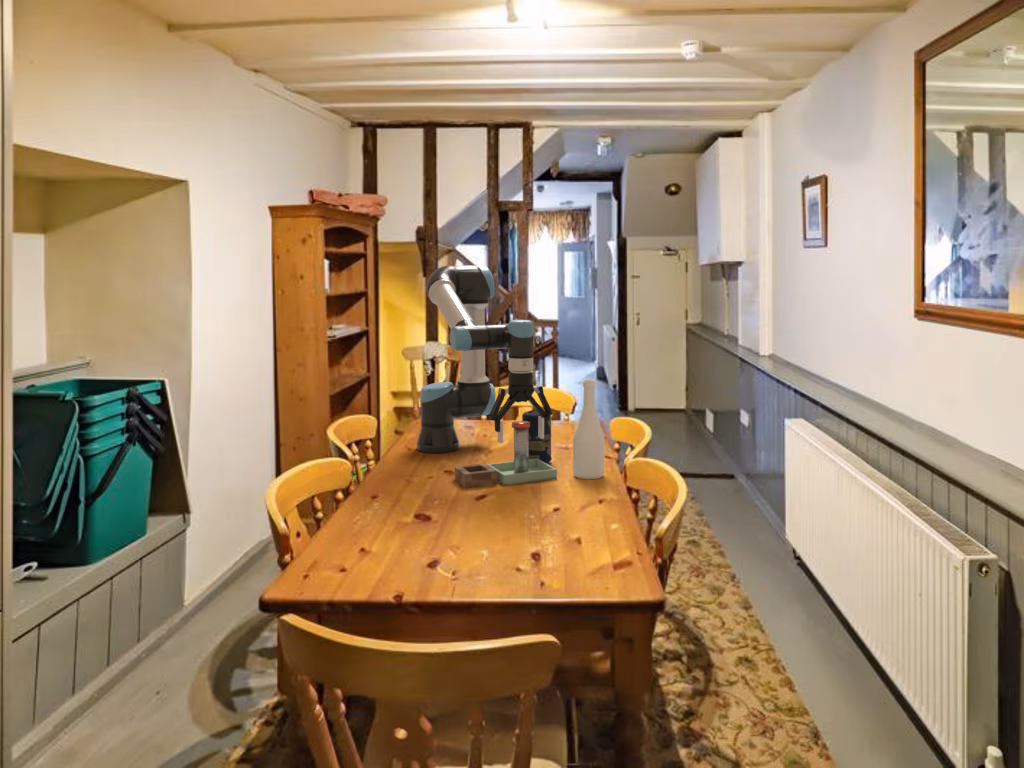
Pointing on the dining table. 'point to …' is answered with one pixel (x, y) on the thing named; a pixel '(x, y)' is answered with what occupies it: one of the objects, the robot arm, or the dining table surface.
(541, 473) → the tray
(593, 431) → the wine bottle
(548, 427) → the canister
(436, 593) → the dining table surface
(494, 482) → the socket block
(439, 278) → the robot arm
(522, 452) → the pin
